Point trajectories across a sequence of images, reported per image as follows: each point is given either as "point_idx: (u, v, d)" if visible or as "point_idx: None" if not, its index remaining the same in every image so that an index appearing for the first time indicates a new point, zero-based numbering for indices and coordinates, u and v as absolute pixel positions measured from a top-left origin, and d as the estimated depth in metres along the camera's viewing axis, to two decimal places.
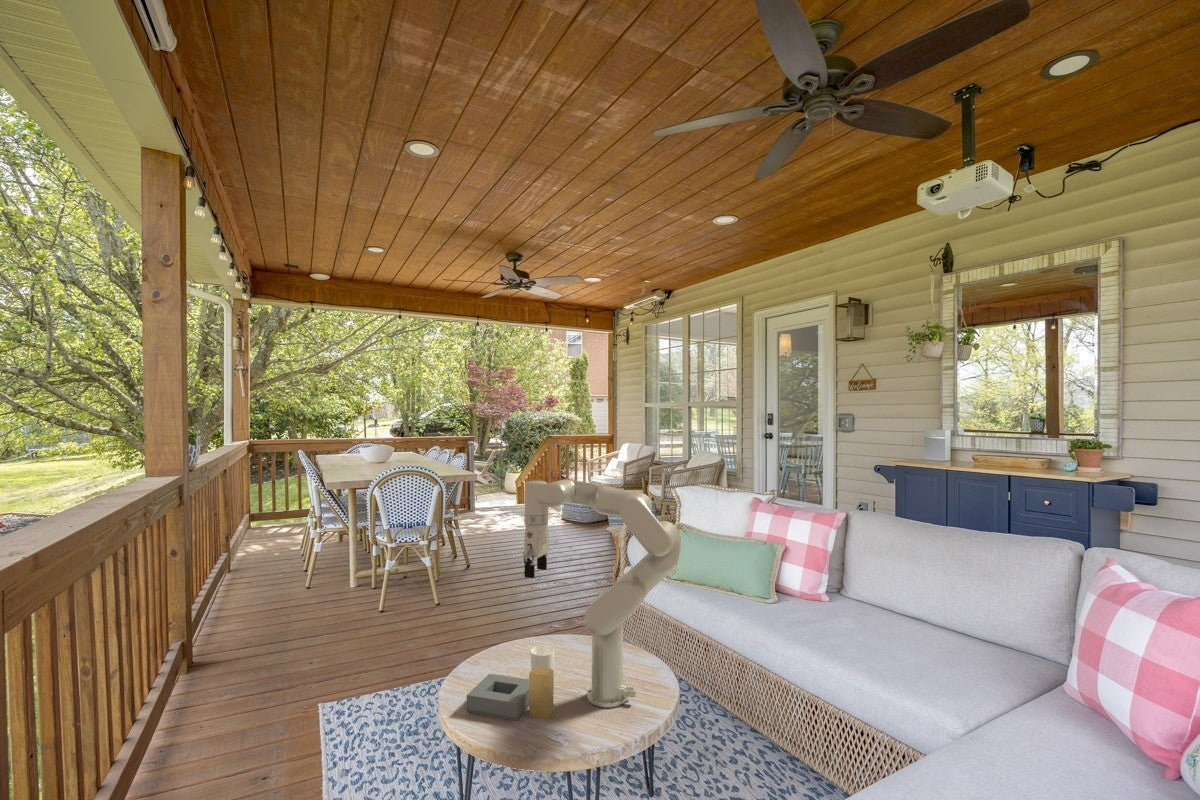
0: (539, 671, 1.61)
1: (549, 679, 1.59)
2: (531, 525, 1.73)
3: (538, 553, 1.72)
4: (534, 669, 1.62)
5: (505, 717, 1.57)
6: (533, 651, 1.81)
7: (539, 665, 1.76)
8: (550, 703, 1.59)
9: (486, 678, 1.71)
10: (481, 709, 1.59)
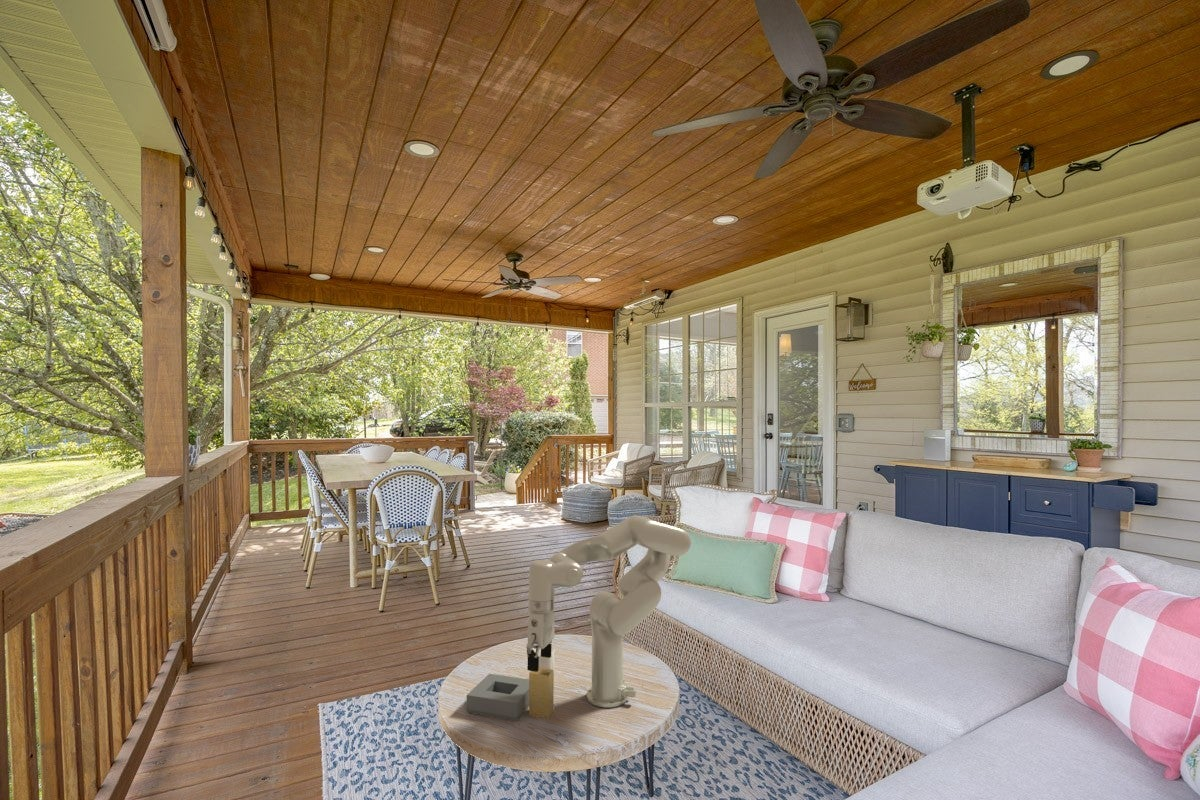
0: (539, 671, 1.61)
1: (549, 679, 1.59)
2: (536, 612, 1.57)
3: (543, 644, 1.56)
4: None
5: (505, 717, 1.57)
6: None
7: (539, 665, 1.76)
8: (550, 703, 1.59)
9: (486, 678, 1.71)
10: (481, 709, 1.59)
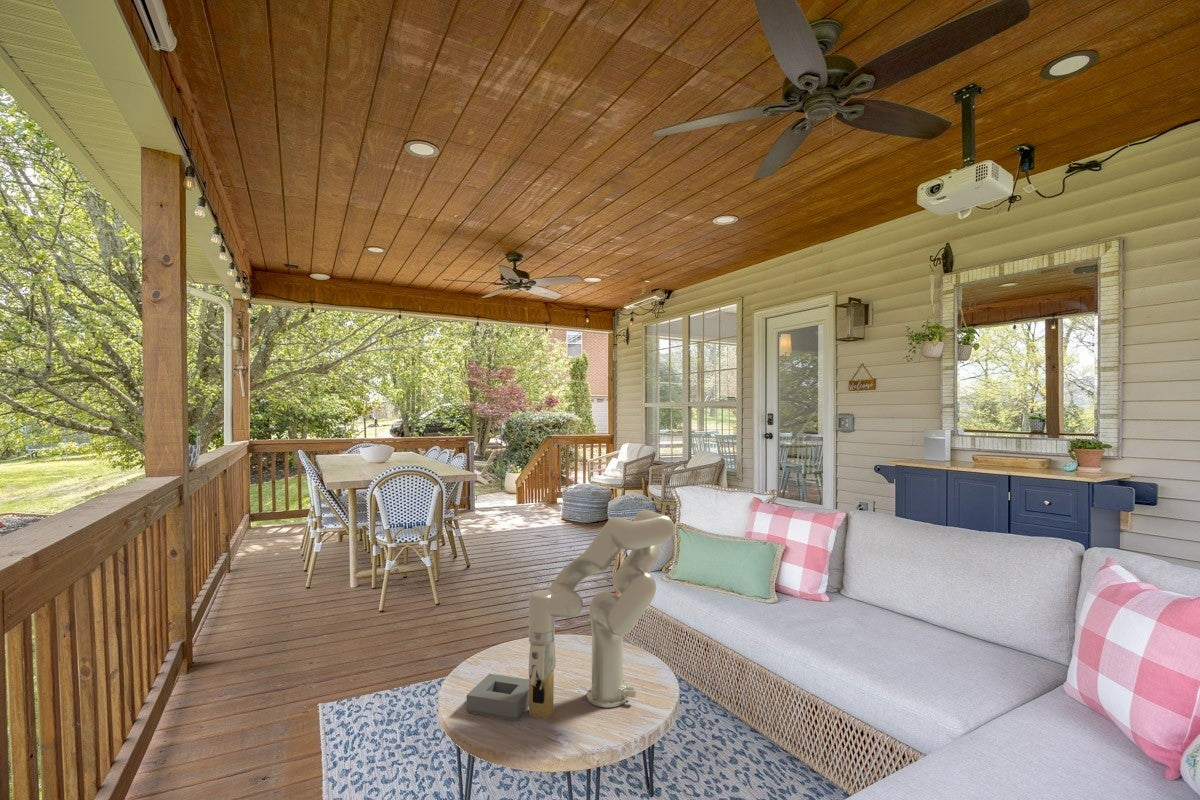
0: None
1: (549, 679, 1.59)
2: (536, 644, 1.57)
3: (544, 675, 1.56)
4: None
5: (505, 717, 1.57)
6: None
7: None
8: (550, 703, 1.59)
9: (486, 678, 1.71)
10: (481, 709, 1.59)
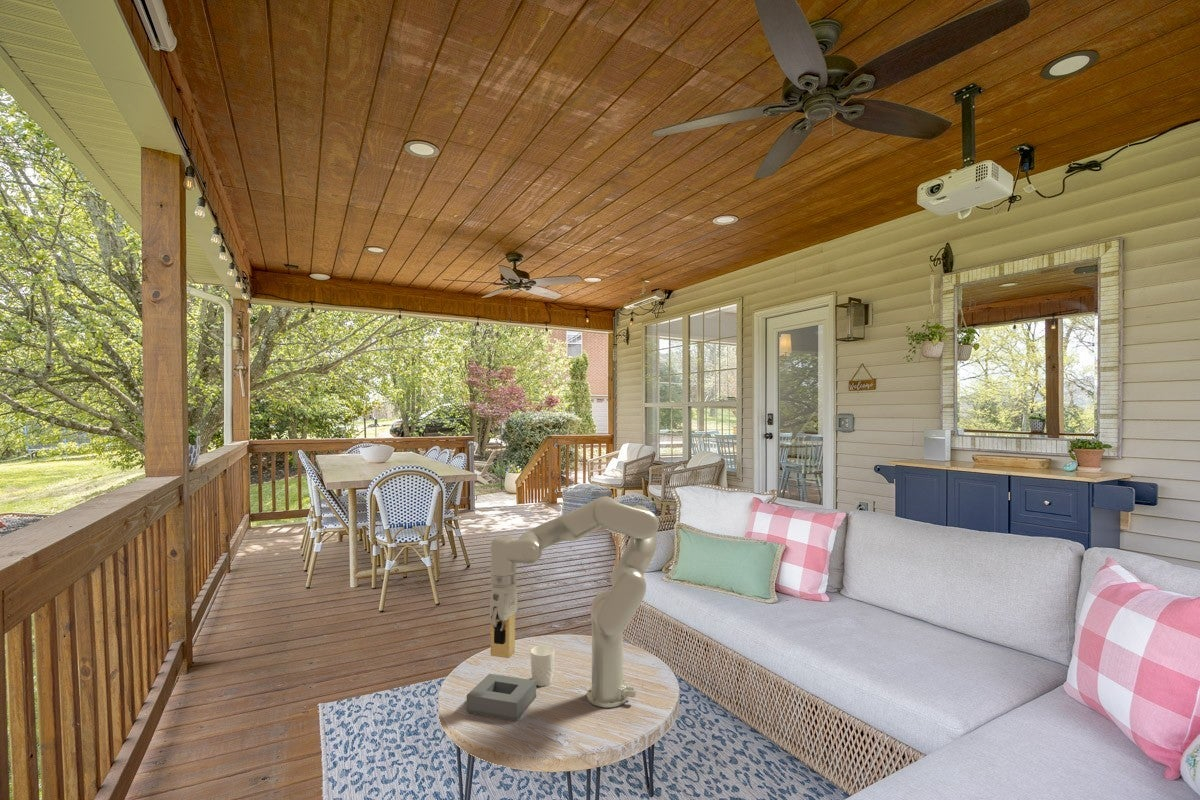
0: None
1: (510, 621, 1.64)
2: (497, 586, 1.62)
3: (505, 616, 1.61)
4: None
5: (505, 717, 1.57)
6: (533, 651, 1.81)
7: (539, 665, 1.76)
8: (511, 644, 1.64)
9: (486, 678, 1.71)
10: (481, 709, 1.59)
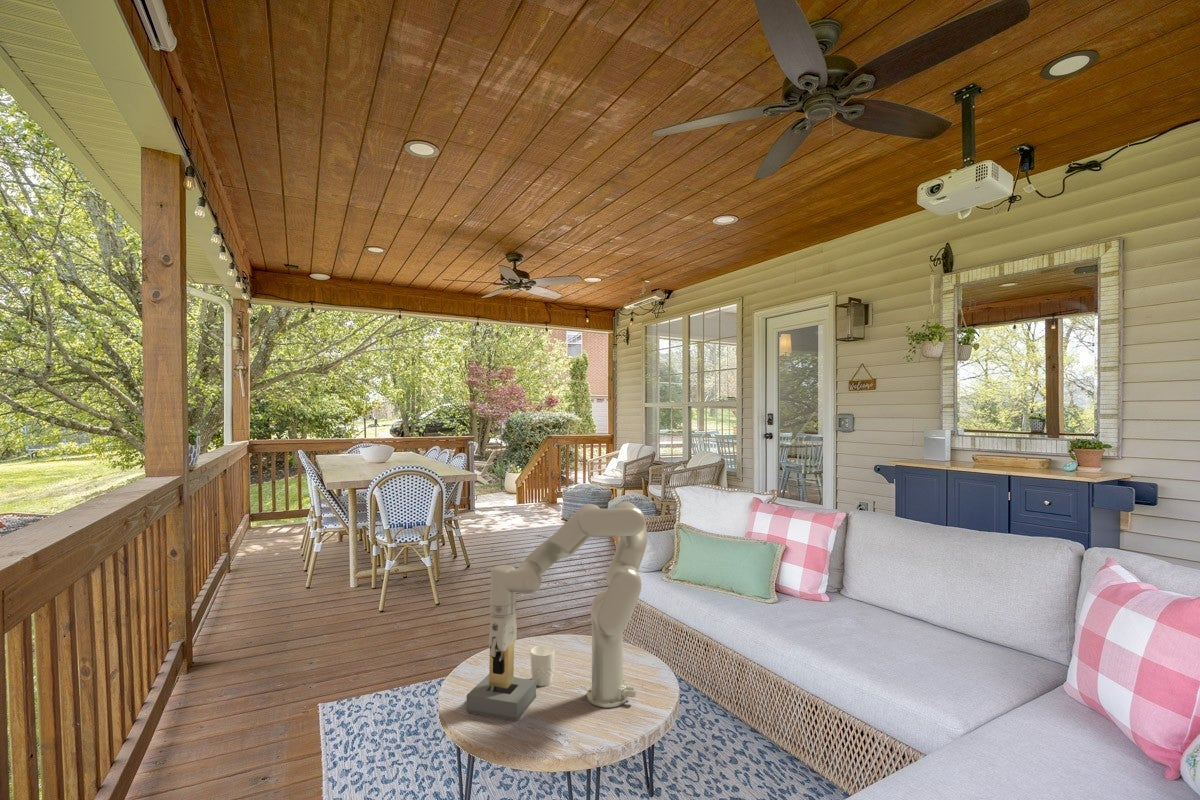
0: None
1: (509, 651, 1.64)
2: (497, 616, 1.62)
3: (504, 647, 1.61)
4: None
5: (505, 717, 1.57)
6: (533, 651, 1.81)
7: (539, 665, 1.76)
8: (510, 674, 1.64)
9: (486, 678, 1.71)
10: (481, 709, 1.59)
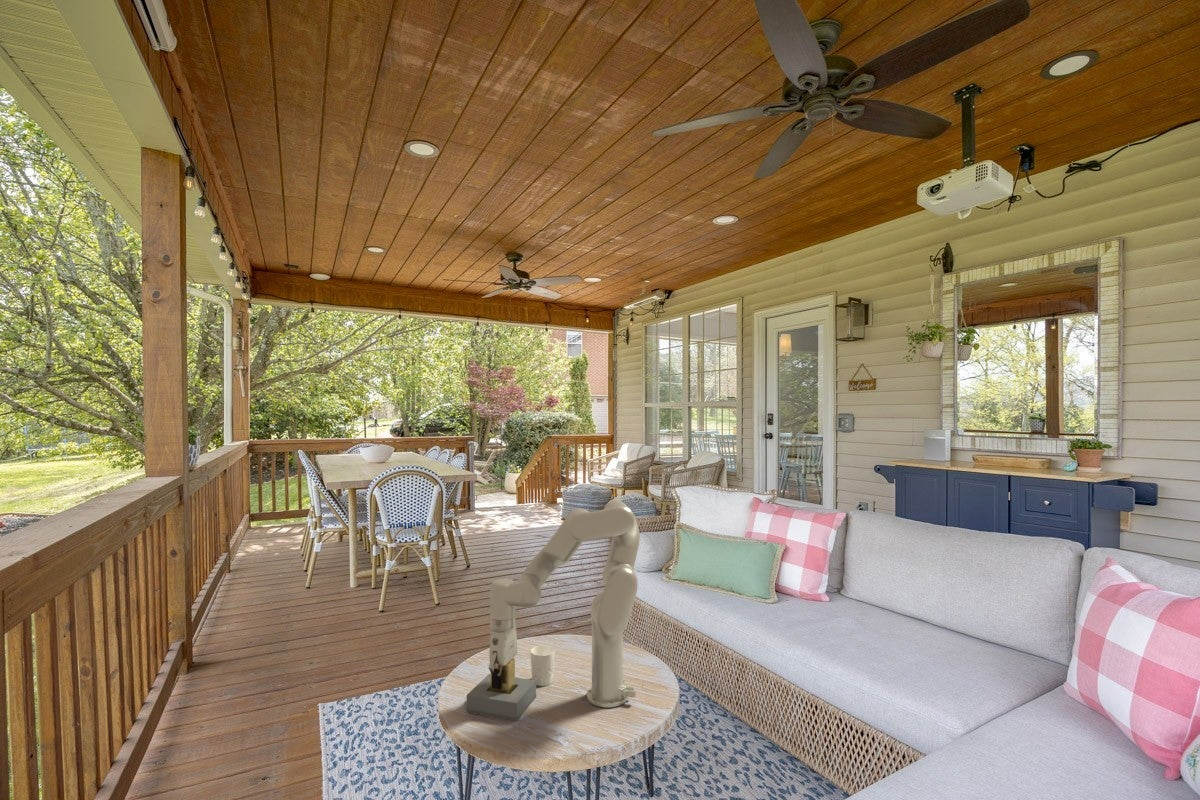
0: None
1: (510, 668, 1.63)
2: (497, 630, 1.62)
3: (504, 661, 1.61)
4: None
5: (505, 717, 1.57)
6: (533, 651, 1.81)
7: (539, 665, 1.76)
8: (511, 691, 1.64)
9: (486, 678, 1.71)
10: (481, 709, 1.59)
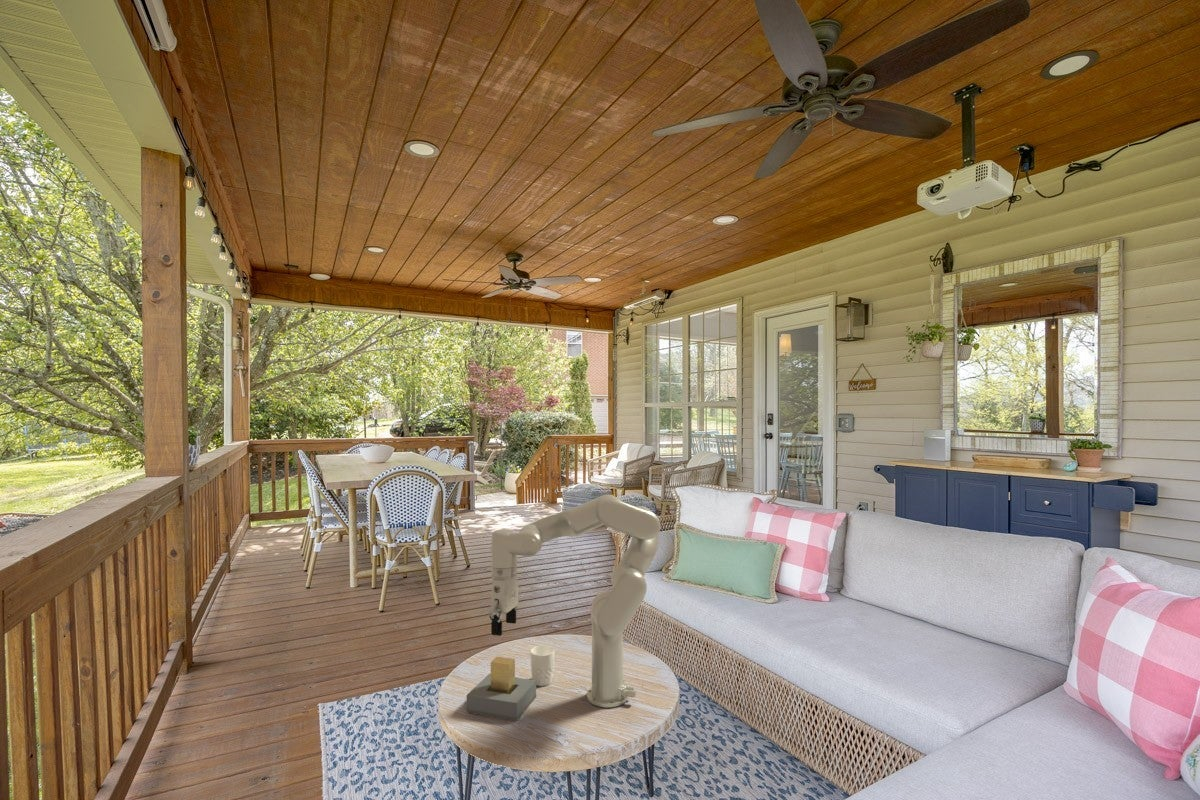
0: (500, 660, 1.65)
1: (510, 668, 1.63)
2: (498, 578, 1.63)
3: (506, 609, 1.61)
4: (496, 658, 1.67)
5: (505, 717, 1.57)
6: (533, 651, 1.81)
7: (539, 665, 1.76)
8: (511, 691, 1.64)
9: (486, 678, 1.71)
10: (481, 709, 1.59)
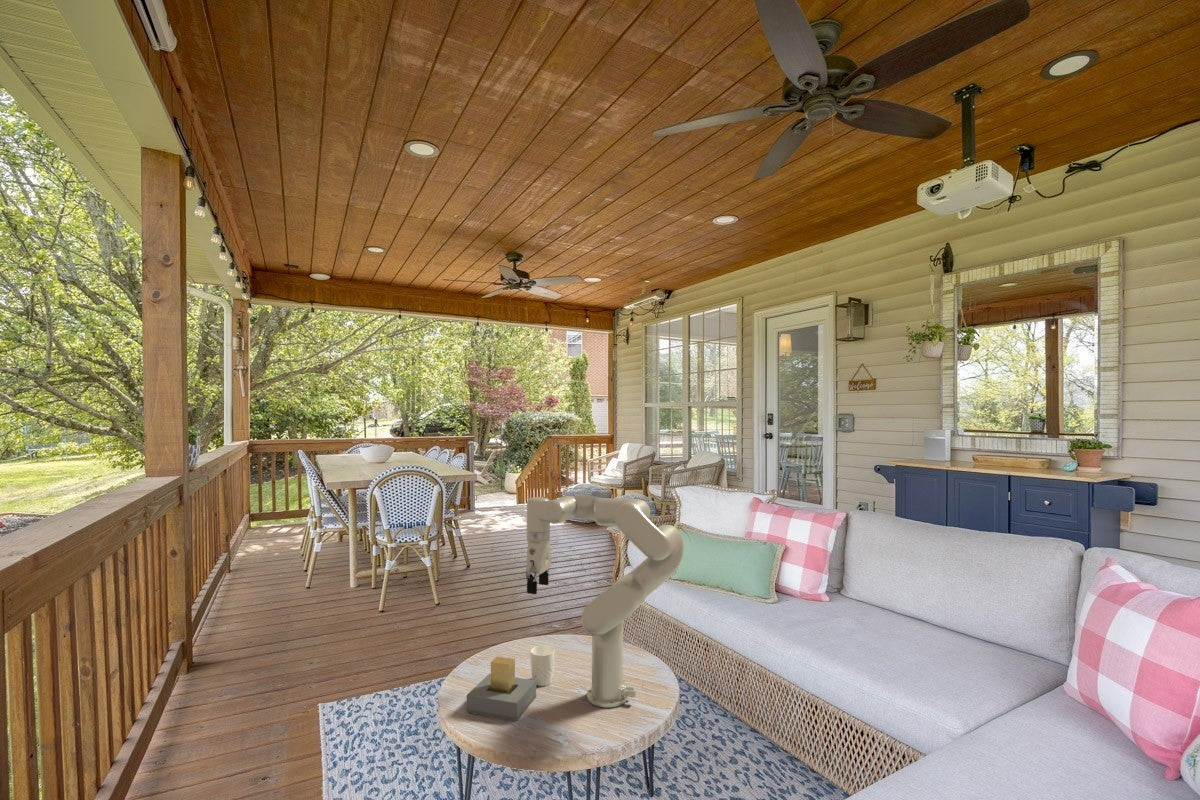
0: (500, 660, 1.65)
1: (510, 668, 1.63)
2: (533, 542, 1.76)
3: (540, 569, 1.74)
4: (496, 658, 1.67)
5: (505, 717, 1.57)
6: (533, 651, 1.81)
7: (539, 665, 1.76)
8: (511, 691, 1.64)
9: (486, 678, 1.71)
10: (481, 709, 1.59)
